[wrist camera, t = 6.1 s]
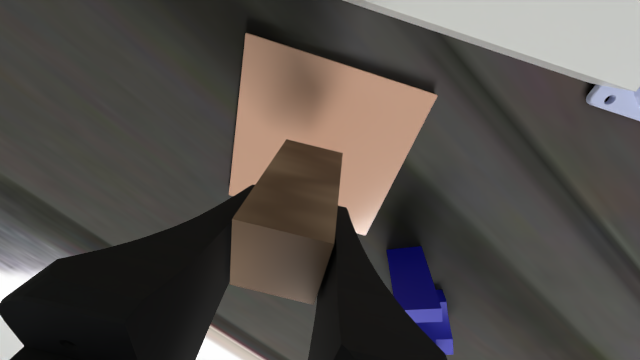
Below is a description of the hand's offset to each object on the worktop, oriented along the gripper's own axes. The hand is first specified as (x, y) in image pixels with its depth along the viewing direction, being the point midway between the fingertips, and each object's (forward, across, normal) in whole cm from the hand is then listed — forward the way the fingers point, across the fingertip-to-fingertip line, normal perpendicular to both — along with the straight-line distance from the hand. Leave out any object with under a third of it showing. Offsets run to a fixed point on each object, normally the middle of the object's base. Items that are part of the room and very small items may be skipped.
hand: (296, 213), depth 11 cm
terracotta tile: (+8, 0, 0) cm, 8 cm away
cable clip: (+8, -13, +12) cm, 20 cm away
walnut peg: (+3, 0, 0) cm, 4 cm away
